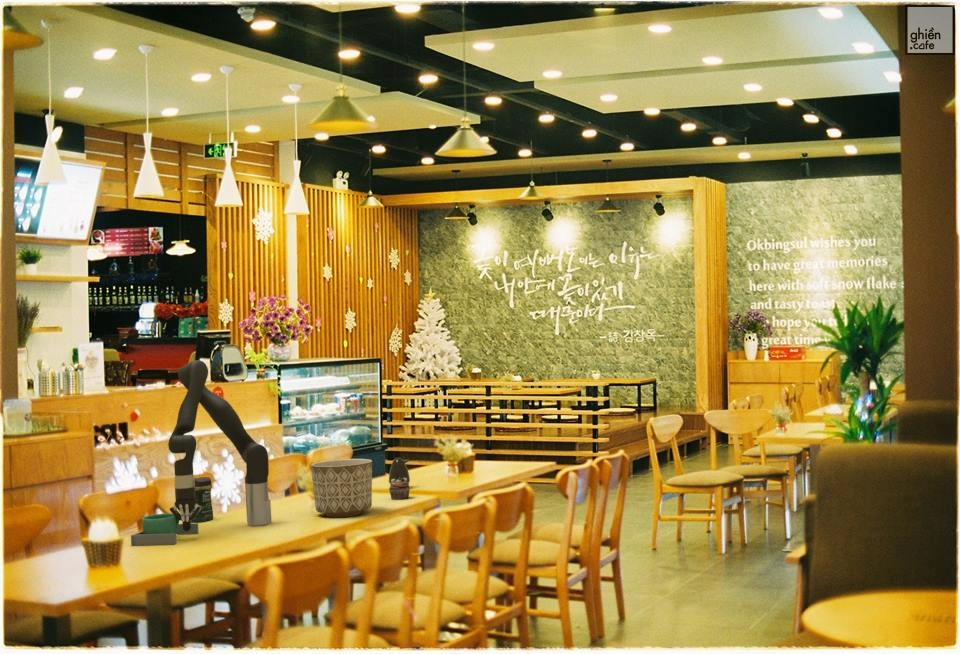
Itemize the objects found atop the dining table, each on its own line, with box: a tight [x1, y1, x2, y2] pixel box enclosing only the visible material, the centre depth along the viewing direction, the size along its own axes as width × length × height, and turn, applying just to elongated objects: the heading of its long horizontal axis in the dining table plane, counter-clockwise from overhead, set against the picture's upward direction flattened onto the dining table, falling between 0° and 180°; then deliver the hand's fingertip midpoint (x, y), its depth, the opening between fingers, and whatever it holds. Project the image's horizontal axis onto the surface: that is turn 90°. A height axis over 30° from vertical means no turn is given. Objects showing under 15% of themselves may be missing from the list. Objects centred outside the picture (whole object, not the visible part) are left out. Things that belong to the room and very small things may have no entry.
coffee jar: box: [191, 476, 214, 523], centre depth 493 cm, size 10×8×19 cm
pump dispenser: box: [388, 457, 411, 487], centre depth 559 cm, size 10×10×15 cm
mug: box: [141, 513, 180, 534], centre depth 449 cm, size 17×13×10 cm
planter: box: [310, 458, 373, 518], centre depth 490 cm, size 26×26×22 cm
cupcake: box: [388, 477, 411, 501], centre depth 526 cm, size 10×10×10 cm
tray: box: [130, 522, 200, 547], centre depth 450 cm, size 18×23×4 cm
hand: (187, 530), depth 448 cm, fingers closed
